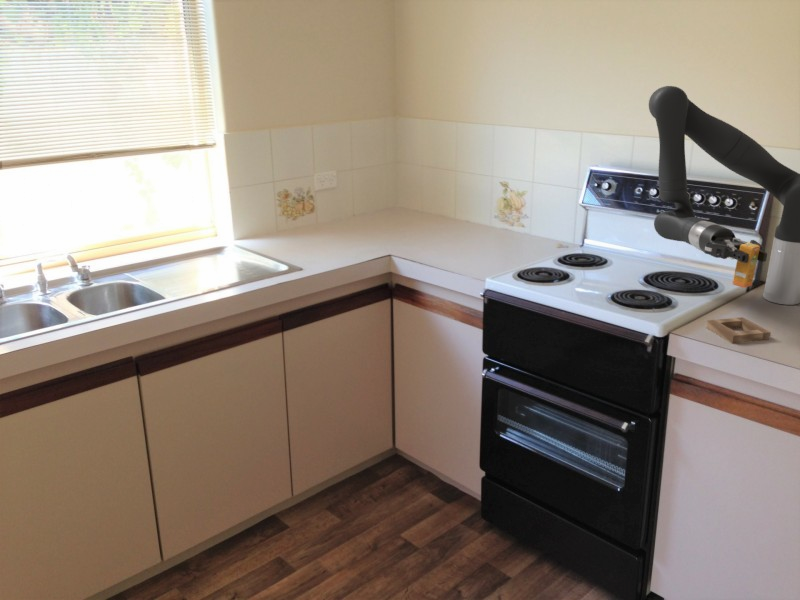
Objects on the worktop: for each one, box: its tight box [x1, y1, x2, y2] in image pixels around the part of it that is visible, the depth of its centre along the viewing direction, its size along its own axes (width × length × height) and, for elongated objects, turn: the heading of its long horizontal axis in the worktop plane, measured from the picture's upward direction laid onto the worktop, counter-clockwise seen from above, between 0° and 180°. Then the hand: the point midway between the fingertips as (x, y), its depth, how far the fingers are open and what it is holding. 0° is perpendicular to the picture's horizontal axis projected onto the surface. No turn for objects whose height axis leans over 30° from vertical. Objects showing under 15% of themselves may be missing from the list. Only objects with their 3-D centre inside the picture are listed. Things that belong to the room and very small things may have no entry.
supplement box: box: [732, 242, 760, 289], centre depth 171 cm, size 3×4×10 cm
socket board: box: [705, 316, 772, 345], centre depth 176 cm, size 10×10×2 cm
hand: (756, 258), depth 168 cm, fingers closed on supplement box, 4 cm apart
